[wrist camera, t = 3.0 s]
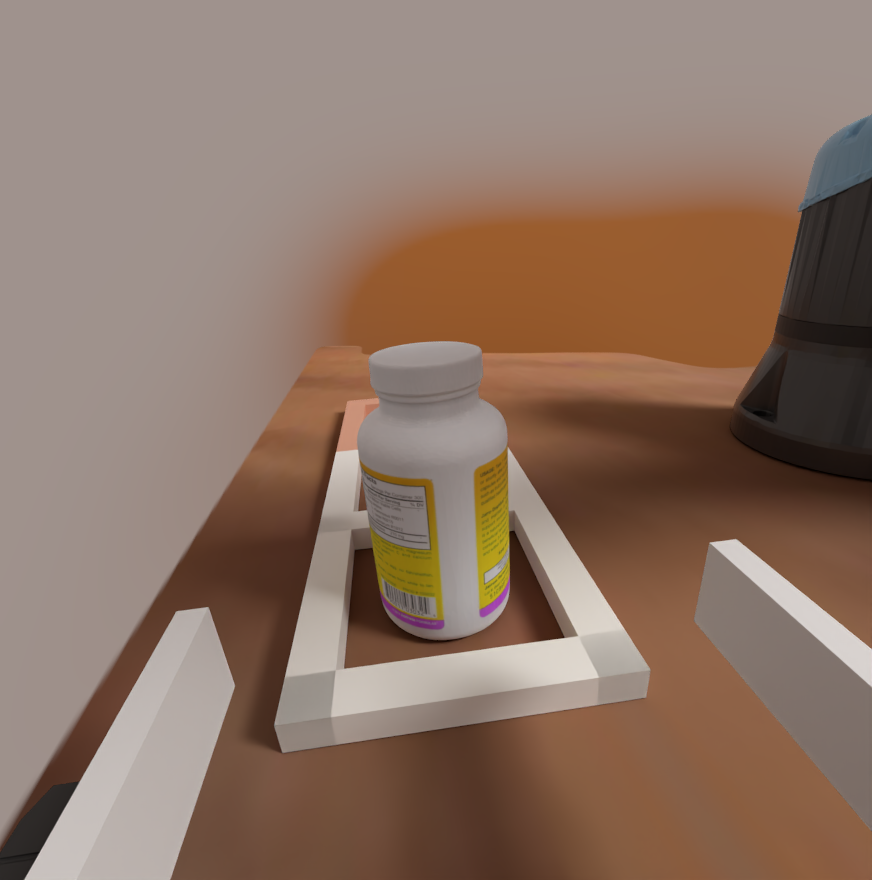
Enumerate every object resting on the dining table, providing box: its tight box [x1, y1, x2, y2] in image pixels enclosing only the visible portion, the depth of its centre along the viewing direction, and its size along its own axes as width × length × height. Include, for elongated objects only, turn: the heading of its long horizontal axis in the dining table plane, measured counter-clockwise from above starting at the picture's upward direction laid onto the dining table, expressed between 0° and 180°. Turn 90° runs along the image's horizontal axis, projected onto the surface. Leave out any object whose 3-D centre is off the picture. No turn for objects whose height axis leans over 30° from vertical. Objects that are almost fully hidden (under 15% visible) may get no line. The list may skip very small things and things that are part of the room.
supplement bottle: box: [357, 342, 510, 640], centre depth 21 cm, size 7×7×13 cm
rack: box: [274, 398, 650, 753], centre depth 34 cm, size 38×14×2 cm, turn 6°
